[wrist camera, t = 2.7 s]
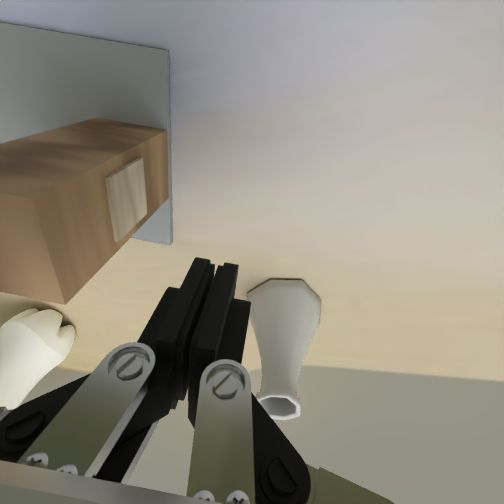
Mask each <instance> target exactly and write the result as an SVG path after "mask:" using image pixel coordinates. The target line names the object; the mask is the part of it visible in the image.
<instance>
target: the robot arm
mask: <svg viewBox="0 0 504 504" xmlns="http://www.w3.org/2000/svg"><path fill="white" fill-rule="evenodd" d="M238 266H239V265H236V264H231V263H224V266H221V265H218V268H217V271H216V273H215V276H214V270H215V264H210V260H208V259H203V258H197V257H196V258H195V259H194V261H193V263H192V265H191V267H190V269H189V271H188V273H187V275H186V277H185V279H184V281H183V283H182V285H181V287H180V289H179V288H173V287H168V288H167V290H166V291H165V293H164V295H163V297H162V298H161V300H160V302H159V304H158V306H157V307H156V309H155V311H154V313H153V315H152V316H151V318H150V320H149V322H148V324H147V325H146V327H145V329H144V331H143V332H142V334H141V336H140V338H139V340H138V341H137V342H133V343H126V344H123V345H120V346H118V347H116V348H115V349H113V350H112V351H111V352H110V353H109V354H107V355H106V357H105V358H104V359H103V360H102V361H101V363H100V364H99V365H98V366H97V367H96V369H95V370H94V371H93V372H92V373H90V374H88V375H86V376H84V377H82V378H79V379H77V380H75V381H73V382H71V383H68V384H66V385H64V386H62V387H60V388H57V389H55V390H53V391H51V392H49V393H46V394H44V395H42V396H40V397H38V398H35V399H34V400H31V401H29V402H27V403H24V404H23V405H21V406H19V407H17V408H15V409H12V410H7V408H6V406H4V407H0V504H394V503H393V502H391V501H390V500H389V499H386V498H384V497H382V496H380V495H378V494H376V493H374V492H372V491H370V490H368V489H365V488H363V487H361V486H359V485H357V484H355V483H353V482H350V481H349V480H346V479H344V478H342V477H340V476H338V475H336V474H334V473H332V472H329V471H327V470H325V469H323V468H321V467H320V468H319V469H316V468H314V467H312V466H310V465H308V464H306V463H305V462H304V460H303V459H302V457H301V456H300V455H299V453H298V452H297V451H296V450H295V448H294V447H293V446H292V444H291V443H290V442H289V440H288V439H287V438H286V436H284V434H283V433H282V431H281V430H280V429H279V427H278V426H277V425H276V423H275V422H274V421H273V420H272V418H271V417H270V416H269V414H268V413H267V412H266V410H265V409H264V408H263V407H262V405H261V404H260V403H259V401H258V400H257V399H256V397H255V396H254V395H253V394H252V392H251V381H250V376H249V373H248V372H247V370H246V368H244V367H243V366H242V365H241V362H242V356H243V350H244V344H245V338H246V332H247V326H248V320H249V314H250V308H251V302H250V301H245V300H239V299H234V295H235V288H236V281H237V274H238ZM187 390H188V402H189V406H188V418H189V420H190V422H191V424H192V426H193V427H194V429H195V431H194V439H193V446H192V454H191V463H190V472H189V479H188V488H187V496H181V495H176V494H171V493H166V492H161V491H156V490H151V489H146V488H141V487H136V486H130V485H126V484H127V482H128V480H129V478H130V476H131V474H132V473H133V470H134V469H135V467H136V465H137V463H138V461H139V459H140V457H141V455H142V454H143V452H144V450H145V448H146V446H147V444H148V442H149V440H150V438H151V437H152V434H153V433H154V431H155V429H156V427H157V424H158V422H159V419H161V418H163V417H164V416H166V415H167V414H169V411H170V409H175V408H176V406H177V403H178V400H184V399H185V396H186V393H187Z"/></svg>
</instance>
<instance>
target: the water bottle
mask: <svg viewBox="0 0 504 504" xmlns="http://www.w3.org/2000/svg"><path fill="white" fill-rule="evenodd" d="M62 317H63V316H62V315H61V314H60V313H59V312H57V311H55V310H52V309H47V310H42V311H39V310H38V309H35V308H34V309H28V310H26V311H23V312H21V313H19V314H17V315H15V316H14V317H12V318H11V319H10V320H8V321H7V322H6V323H4V324H3V325H2V326H1V328H0V407H4V406H6V408H7V410H12V409H15V408H17V407H19V405H20V404H21V402H22V401H23V400H24V398H25V397H26V395H27V394H28V393H29V392H30V391H31V389H32V388H33V387H34V386H35V385H36V384H37V383H38V382H39V380H41V378H43V377H44V376H45V375H46V374H47V373H48V372H49V371H50V370H52V369H53V368H54V367H55V366H57V365H58V364H60V363H61V362H63V360H64V359H65V358H66V356H67V355H68V353H69V352H70V350H71V348H72V345H73V343H74V339H75V329H74V327H73V326H72V325H66V326H63V327H60V325H61V322H62Z"/></svg>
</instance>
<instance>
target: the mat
mask: <svg viewBox="0 0 504 504" xmlns="http://www.w3.org/2000/svg"><path fill="white" fill-rule="evenodd" d="M96 117H97V118H103V119H109V120H114V121H120V122H125V123H131V124H137V125H142V126H148V127H153V128H159V129H164V130H167V144H168V181H169V198H168V199H167V200H166V201H165V202H164V203H163V204H162V205H161V206H160V207H159V208H158V209H157V211H156V212H155V213H154V214H153V215H152V216H151V217H150V218H149V219H148V220H147V221H146V222H145V223H144V224H143V225H142V226H141V227H140V228H139V229H138V230H137V231H136V232H135V233H134V234H133V235H132V236H131V237H130V238H134V239H140V240H145V241H150V242H155V243H160V244H165V245H171V244H172V242H173V228H172V181H171V134H170V87H169V50H163V49H157V48H151V47H145V46H139V45H133V44H127V43H121V42H115V41H109V40H103V39H97V38H91V37H85V36H80V35H74V34H68V33H62V32H56V31H50V30H44V29H38V28H32V27H26V26H20V25H14V24H8V23H2V22H0V143H4V142H8V141H12V140H15V139H19V138H23V137H26V136H30V135H34V134H37V133H41V132H45V131H48V130H52V129H56V128H59V127H63V126H67V125H70V124H74V123H78V122H81V121H85V120H89V119H92V118H96Z"/></svg>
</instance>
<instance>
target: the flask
mask: <svg viewBox="0 0 504 504" xmlns="http://www.w3.org/2000/svg"><path fill="white" fill-rule="evenodd" d="M247 296H248V301H250V302H251V308H250V318H251V322H252V326H253V329H254V333H255V336H256V340H257V344H258V349H259V353H260V357H261V364H262V381H261V389H260V392H258V393H257V394H256V396H255V397H256V399H257V400H258V401H259V403H260V404H261V405H262V407H263V408H264V409H265V410H266V412H267V413H268V414H269V416H270V417H271V418H272V419H278V420H288V419H291V418H295V417H298V416H300V399H299V398H298V397H297V394H296V393H297V392H296V391H297V383H298V378H299V373H300V368H301V365H302V362H303V360H304V358H305V355H306V353H307V350H308V348H309V345H310V343H311V341H312V339H313V336H314V334H315V332H316V330H317V328H318V325H319V323H320V311H321V299H320V298H319V297H318V296H317V295H316V294H315V293H314V292H313V291H312V290H311V289H310V288H309V287H308V286H307V285H306V284H305V282H304V281H303V280H269V281H267V282H266V283H264V284H262V285H261V286H259V287H257V288H256V289H254V290H252V291H250V292H249V293H247Z"/></svg>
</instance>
